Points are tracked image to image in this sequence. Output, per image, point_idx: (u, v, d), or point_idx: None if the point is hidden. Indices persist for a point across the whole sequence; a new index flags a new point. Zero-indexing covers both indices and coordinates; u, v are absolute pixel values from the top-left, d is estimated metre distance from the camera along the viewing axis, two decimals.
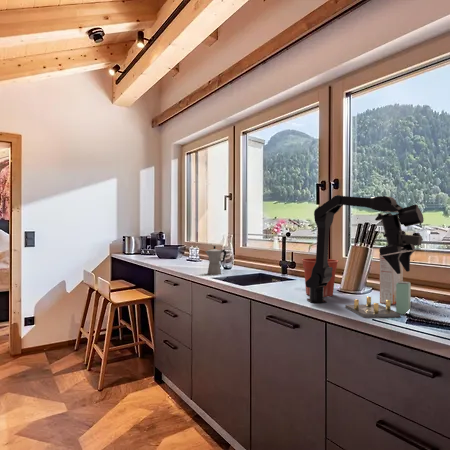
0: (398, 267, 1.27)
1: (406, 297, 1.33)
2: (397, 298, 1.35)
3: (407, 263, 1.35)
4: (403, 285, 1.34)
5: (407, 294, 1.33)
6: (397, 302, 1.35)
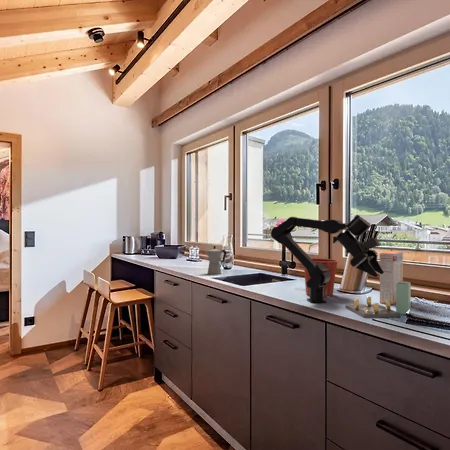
0: (373, 271, 1.37)
1: (406, 297, 1.33)
2: (397, 298, 1.35)
3: (378, 267, 1.45)
4: (403, 285, 1.34)
5: (407, 294, 1.33)
6: (397, 302, 1.35)
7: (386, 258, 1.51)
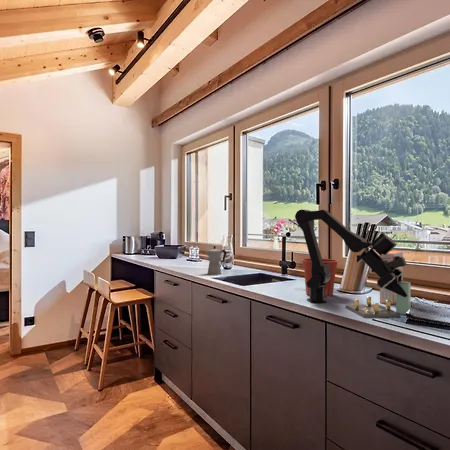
0: (403, 291, 1.33)
1: (406, 297, 1.33)
2: (397, 298, 1.35)
3: None
4: (403, 285, 1.34)
5: (407, 294, 1.33)
6: (397, 302, 1.35)
7: (386, 258, 1.51)
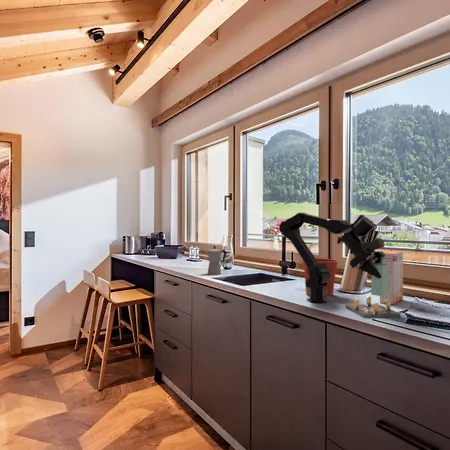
0: (377, 272, 1.33)
1: (380, 278, 1.33)
2: (372, 279, 1.35)
3: None
4: (378, 266, 1.34)
5: (381, 275, 1.33)
6: (372, 283, 1.35)
7: (386, 258, 1.51)
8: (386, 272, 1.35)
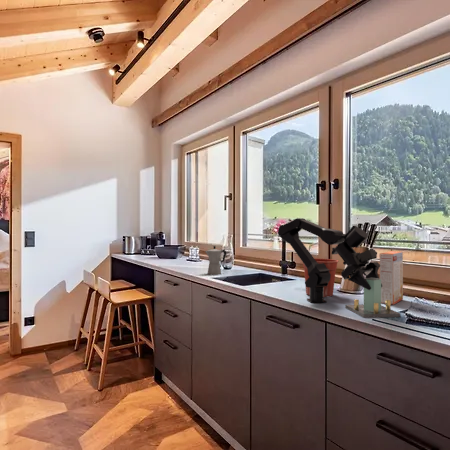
0: (366, 283, 1.32)
1: (372, 293, 1.33)
2: (364, 294, 1.35)
3: None
4: (369, 281, 1.34)
5: (373, 290, 1.33)
6: (364, 298, 1.35)
7: (386, 258, 1.51)
8: (378, 287, 1.35)
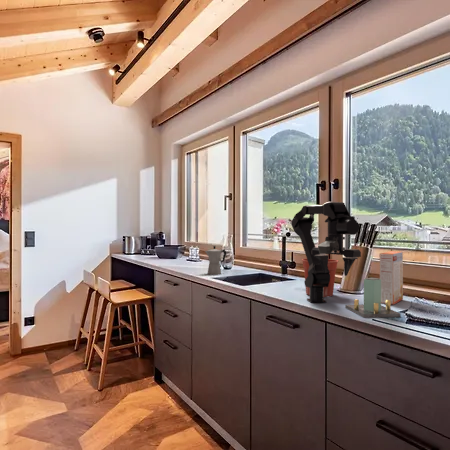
0: None
1: (372, 293, 1.33)
2: (364, 294, 1.35)
3: None
4: (369, 281, 1.34)
5: (373, 290, 1.33)
6: (364, 298, 1.35)
7: (386, 258, 1.51)
8: (378, 287, 1.35)
